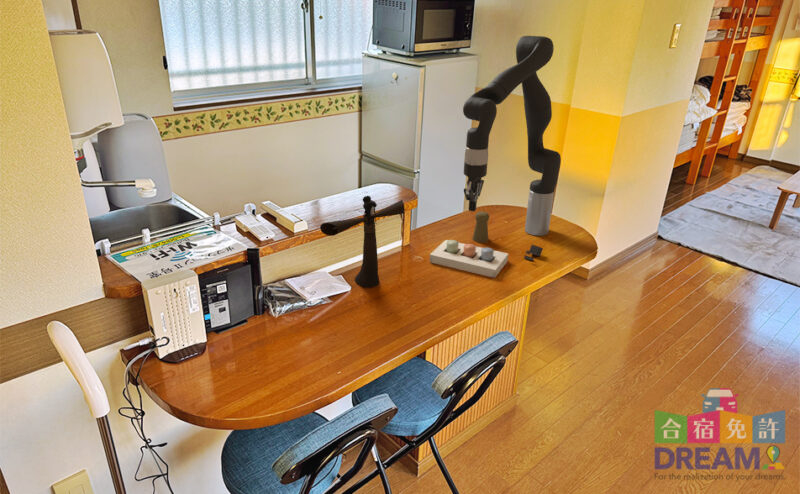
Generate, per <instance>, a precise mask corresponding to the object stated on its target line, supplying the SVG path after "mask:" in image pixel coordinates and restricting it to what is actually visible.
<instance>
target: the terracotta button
mask: <svg viewBox="0 0 800 494" xmlns="http://www.w3.org/2000/svg"><path fill="white" fill-rule="evenodd" d="M464 244H465V245H464V250H463V255H462V256H465V257H470V258H474V257H475V256H476V255H475V252H476V247H477V246H476V244H473V243H464Z"/></svg>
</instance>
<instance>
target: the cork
mask: <svg viewBox="0 0 800 494" xmlns="http://www.w3.org/2000/svg"><path fill="white" fill-rule="evenodd" d="M474 218H475V226H474V230H473V236H472V241H474V242H476V243H487V242H488V241H489V228H488V226H489V225H488V222H489V219H490V215H489V213H488V212H486V211H483V210H482V211H478V212H476V213H475V216H474Z"/></svg>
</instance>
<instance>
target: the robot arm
mask: <svg viewBox="0 0 800 494" xmlns="http://www.w3.org/2000/svg"><path fill="white" fill-rule="evenodd" d="M554 47H555V46H554V42H553V41H552V39H551V38H549V37H547V36H541V35H524V36H520V38H519V39H518V41H517V43H516V48H515V55H516V56H515V57H516V58H515V59H516V63H517V64H515V65H512V66H511V67H508V68H507V69H504V70H503V71H501V72H500V73H498V74H497V76H495V77H494V78H493V80H492V81H490V83H488V85H486V86H485V87H483V88H481V89H479V90H478V91H476V92H474V93H473V94H472V95H470V96H469V97H468V98H467V99H466V101H464V104H463V107H462V113H463V115H464V116H465V118H466V119H469V120H471V121H476V122H479V123H478V125H477V127H471V128H469V129H468V130H467V132H466V140H465V141H466V143H465V151H464V161H463V162H464V163H463V175H464V176H465V177H467V178H468V179H467V181H466V187H467V188H463V193H464V196H465V197H464V198H465V199H466V200H465V201H468V211H469V212H475V211H476V210H477V205H478V204H477V202H478V200H479V197H480V196H481V193H482V189H483V187H484V183H485V180H484V179H482V178H485V177H486V176H487V174H488V162H489V137H490V133H491V131H492V128H493V126H494V125H493V124H494V123H495V120H496V118H497V110H498V109H497V105H500V104H502V103H503V102H504V101H505V100H506V99H507V98H508V97H509V96H510V95H511V94H512V92H513V91H514V90H515V89H516V88H517V87H519V86H520V84H521V89H522V95H523V106H524V107H523V108H524V115H525V122H526V124H525V125H526V134H527V163H528V167H529V169H530V170H532V171H534V172H537V173H539V174H541V179H535V180H532V181H531V182H530V184H529V190H528V191H529V192H528V200H527V209H526V216H525V226H524V231H525V232H526V233H527V234H528V235H529V234H530V235H533V236H540V237H541V236H546V235H548V234H549V230H550V224H551V217H552V209H553V208H552V207H553V203H554V202H553V201H554V196H555V195H554V194H555V189H556V186H557V183H558V179H559V173H560V169H561V162H562V158H561V154H560V152H558V151H555V150H553V149H549V148H545V147H544V133H545V131H546V130H547V128H548V127H549V125H550V122H551V120H552V118H553V117H552V116H553V115H552V114H553V110H552V99H551V96H550V93H549V92H548V91H547V89H546V87H545V86H544V84H543V83H542V81H541V80H540V78H539V76H538V74H537V72H538V71H539V70H541V69H542V68H543V67H545V66H546V65H547V64H548V63H549V62H550V61H551V59H552V57H553V54H554V50H555V49H554Z"/></svg>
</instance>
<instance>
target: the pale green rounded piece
mask: <svg viewBox="0 0 800 494" xmlns="http://www.w3.org/2000/svg"><path fill="white" fill-rule="evenodd" d="M458 243H459V241H458V240H454V239H449V241H447V245H446V251H445V252H448V253H452V254H457V253H458V252H459V251H458Z"/></svg>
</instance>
